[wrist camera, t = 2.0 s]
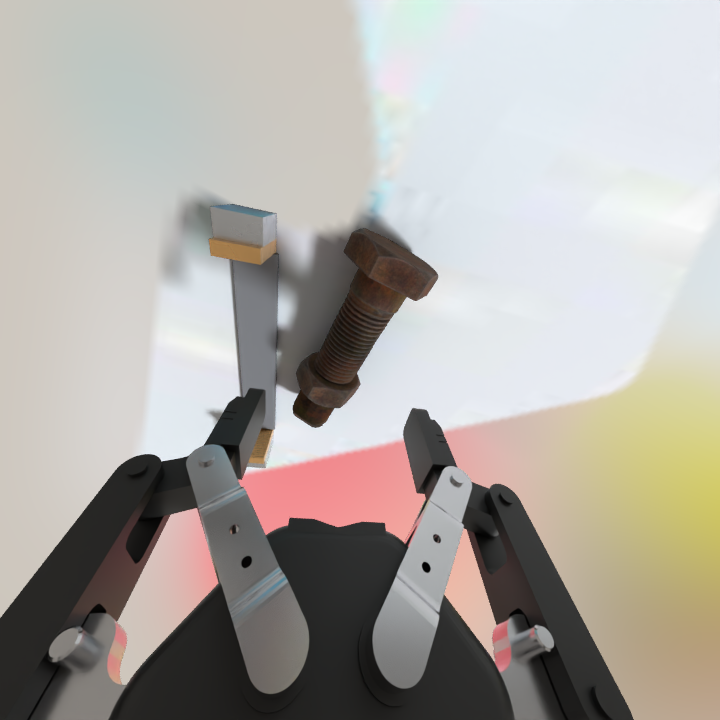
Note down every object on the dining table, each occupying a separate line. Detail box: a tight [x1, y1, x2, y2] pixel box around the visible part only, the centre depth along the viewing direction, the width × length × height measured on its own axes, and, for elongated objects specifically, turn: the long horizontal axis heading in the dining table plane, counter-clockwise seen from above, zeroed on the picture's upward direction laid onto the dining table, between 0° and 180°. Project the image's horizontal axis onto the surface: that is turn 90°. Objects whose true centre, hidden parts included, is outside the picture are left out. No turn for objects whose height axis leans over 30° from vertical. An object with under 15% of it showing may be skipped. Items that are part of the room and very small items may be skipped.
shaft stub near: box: [209, 204, 277, 265], centre depth 14 cm, size 2×2×4 cm
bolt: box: [293, 228, 438, 428], centre depth 18 cm, size 6×5×15 cm
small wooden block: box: [247, 428, 273, 468], centre depth 24 cm, size 2×2×4 cm
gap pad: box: [233, 253, 279, 430], centre depth 21 cm, size 17×3×1 cm, turn 169°
